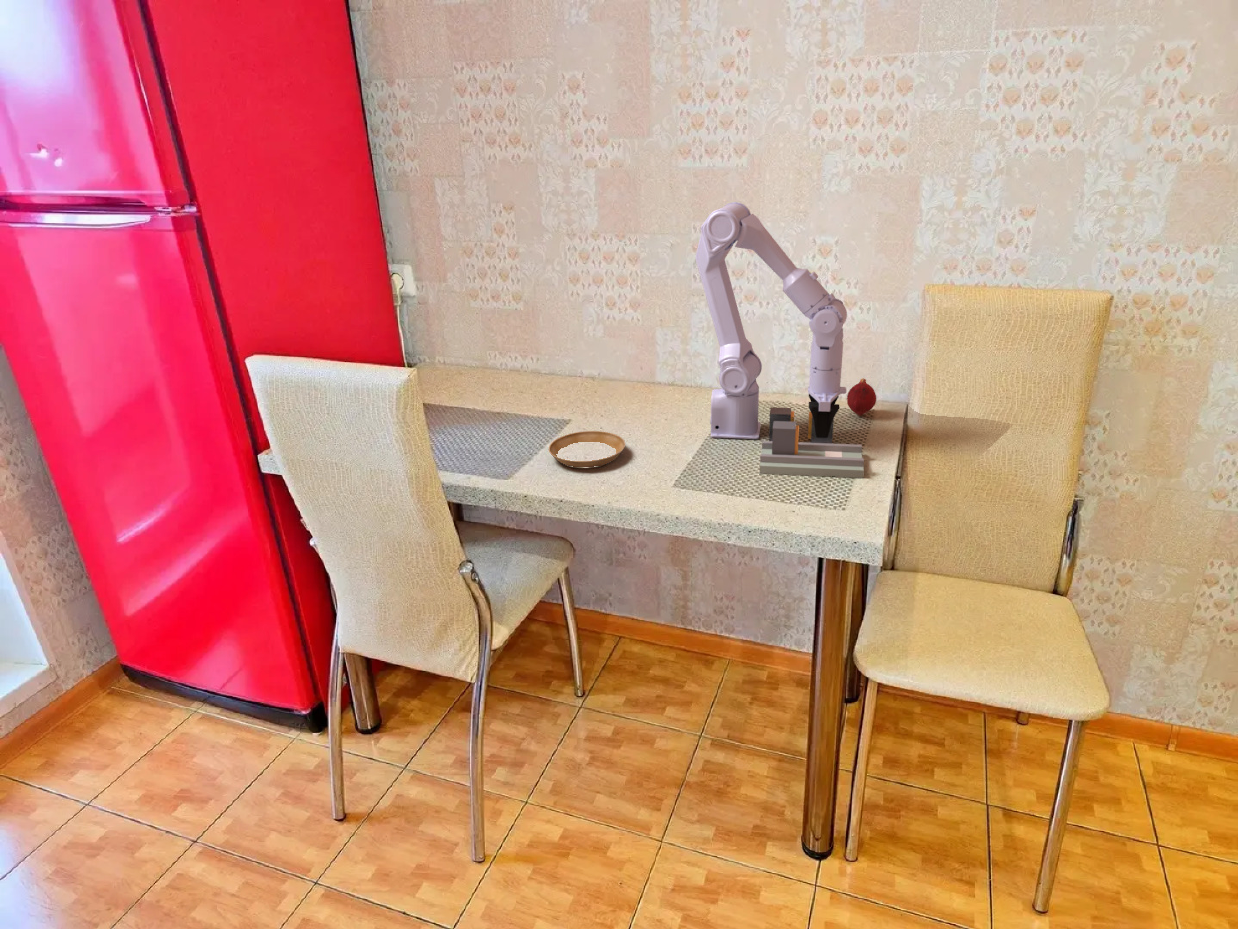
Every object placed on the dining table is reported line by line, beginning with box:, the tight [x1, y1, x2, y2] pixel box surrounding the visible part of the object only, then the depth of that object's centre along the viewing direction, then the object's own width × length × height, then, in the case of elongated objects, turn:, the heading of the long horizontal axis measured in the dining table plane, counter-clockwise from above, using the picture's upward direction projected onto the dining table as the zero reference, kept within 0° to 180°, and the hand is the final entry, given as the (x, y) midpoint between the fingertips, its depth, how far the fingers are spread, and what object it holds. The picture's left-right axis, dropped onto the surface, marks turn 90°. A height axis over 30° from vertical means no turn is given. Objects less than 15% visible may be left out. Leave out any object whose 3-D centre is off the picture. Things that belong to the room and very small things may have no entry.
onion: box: [846, 377, 877, 417], centre depth 169 cm, size 6×6×8 cm
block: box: [768, 406, 795, 441], centre depth 161 cm, size 5×4×6 cm
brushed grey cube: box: [807, 411, 835, 444], centre depth 159 cm, size 5×4×6 cm
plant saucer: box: [548, 430, 626, 468], centre depth 158 cm, size 15×15×3 cm
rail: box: [759, 421, 865, 479], centre depth 149 cm, size 18×10×8 cm, turn 78°
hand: (821, 433), depth 160 cm, fingers closed on brushed grey cube, 3 cm apart
